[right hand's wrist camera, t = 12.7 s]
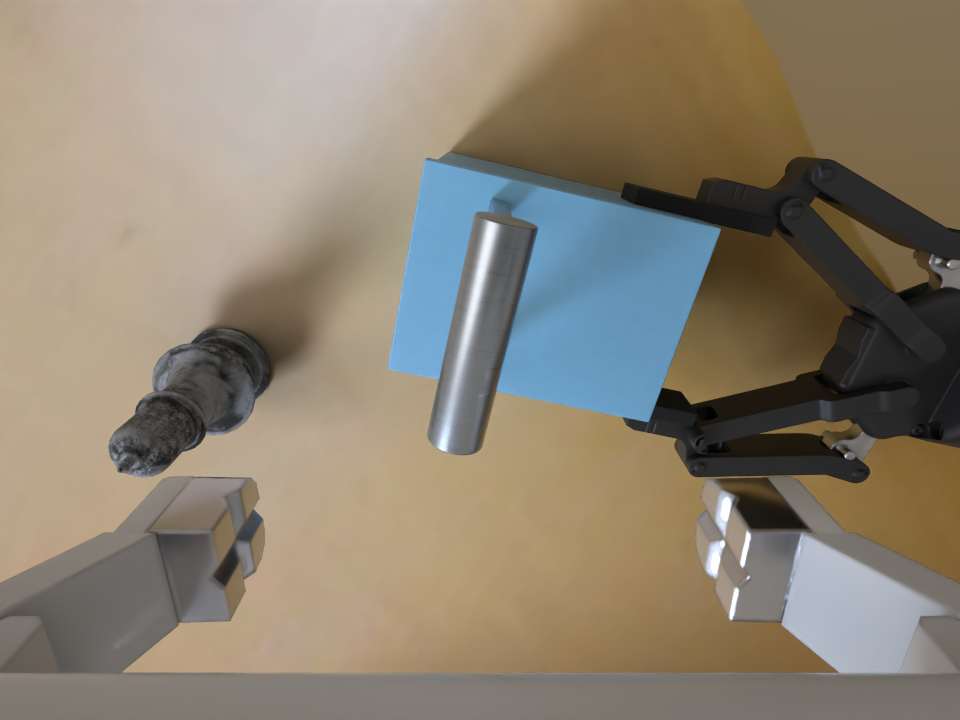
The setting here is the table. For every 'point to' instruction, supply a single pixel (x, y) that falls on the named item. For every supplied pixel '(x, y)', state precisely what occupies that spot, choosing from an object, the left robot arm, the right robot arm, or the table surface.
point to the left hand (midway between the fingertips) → (597, 295)
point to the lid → (540, 298)
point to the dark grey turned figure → (191, 400)
